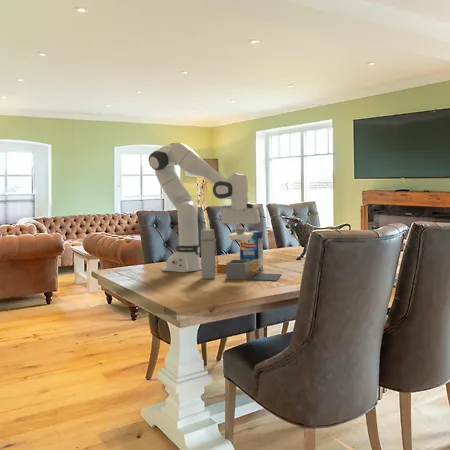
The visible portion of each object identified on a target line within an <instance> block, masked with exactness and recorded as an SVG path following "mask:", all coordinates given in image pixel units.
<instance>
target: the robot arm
mask: <svg viewBox="0 0 450 450" xmlns="http://www.w3.org/2000/svg"><path fill="white" fill-rule="evenodd" d="M148 163H149V166H150V168H152V170H154V173H155V175H156V176H155V177H156V178H157V181H158V183H159V184H160V186H161V188H162V190H163V191H164V193H165V195H166V196H167V198H168V199H169V201H170V202H171V203H172V205H173V206H174V208H175V209H176V211H177V225H178V226H177V227H178V245H176V246H175V248H174V250H176V251H175V252H174V253H172V255H170V256H169V257H168V258H167V259H166V265H165V266H164V267H162V271H165V272H176V273H177V272H178V273H187V272H197V271H201V257H200V254H201V247H200V244H199V224H198V223H199V221H198V220H199V218H198V216H199V215H198V213H199V208H198V205H197V204H196V202H195V201H194V199H193V197H192V196H191V195H190V193H189V191H188V190H187V188H186V187H185V185H184V183H183V182H182V180H181V178H180V176H179V175H178V173H177V171H176V170H175V166H178V167H180V168H181V169H182V170H183V171H185V172H186V173H188V174H190V175H193V176H199V177H202V178H204V179H206V180H208V181H210V183H212V184H213V186H212V193H213V196H214V197H215V198H217V199H219V200H230V204H229V205H222V206H220V223H221V224H232V226H233V228H234V233H237V228H238V227H237V224H244V227H242V228H243V229H242V230H243V231H242V232H246V231H247V228H248V226H249V225H248V224H259V223H260V222H261V217H260V215H261V214H260V211H259V209H258V204H257V203H254V202H251V201H249V197H248V192H249V186H248V185H249V183H248V178H247V176H246V175H245V174H243V173H232V174H231V175H230V176H228V177H224V175H222V174H220V172H218V171H217V170H216V169H214V168H213V167H211V165H209V164H208V163H207V162H206V161H205V159H203V158H202V157H201V156H200V155H199V154H198V153H197V152H196V151H194V149H192V148H190V147H189V146H187V145H186V144H184V143H182V142H172V143H170V144H167V145H164V146H162V147H160V148H158V149H157V150H155V151H153V152H151V153H150V154H149V156H148Z"/></svg>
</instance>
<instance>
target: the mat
mask: <svg viewBox="0 0 450 450" xmlns="http://www.w3.org/2000/svg"><path fill="white" fill-rule="evenodd" d="M280 277H282V273H260V272H254V274H252V275H250V276H249V277H248V278H247V279H248V281H258V282H262V281H263V282H277V281H278V280H279V278H280Z"/></svg>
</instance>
